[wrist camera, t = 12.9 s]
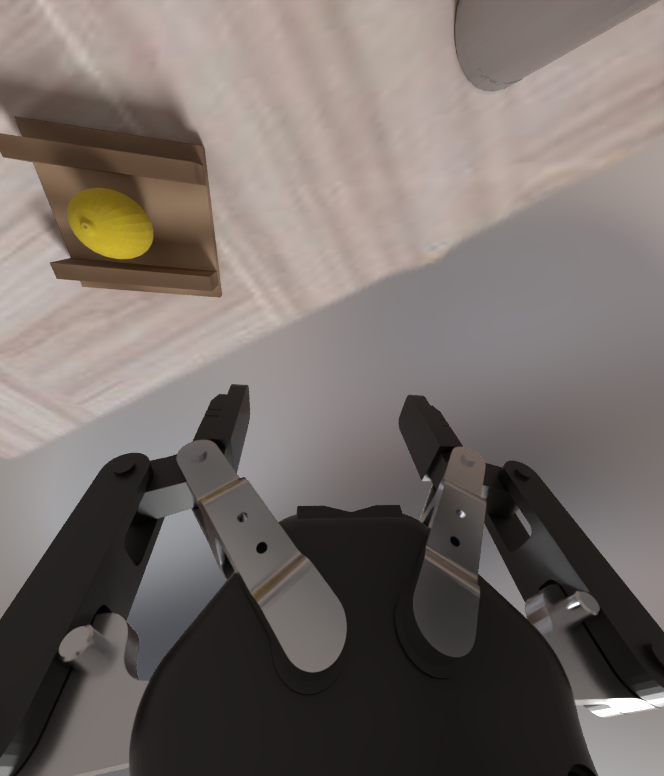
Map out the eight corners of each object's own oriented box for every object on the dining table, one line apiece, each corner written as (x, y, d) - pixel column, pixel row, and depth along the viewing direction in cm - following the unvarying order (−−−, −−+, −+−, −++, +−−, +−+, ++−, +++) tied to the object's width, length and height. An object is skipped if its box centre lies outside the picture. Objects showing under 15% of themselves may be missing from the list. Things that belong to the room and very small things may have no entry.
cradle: (24, 119, 23) (-21, 105, 20) (204, 147, 26) (190, 139, 22) (88, 284, 31) (63, 293, 28) (221, 295, 33) (213, 304, 30)
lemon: (172, 212, 27) (131, 213, 21) (159, 263, 30) (119, 278, 23) (110, 176, 25) (43, 165, 19) (102, 233, 28) (40, 241, 21)
